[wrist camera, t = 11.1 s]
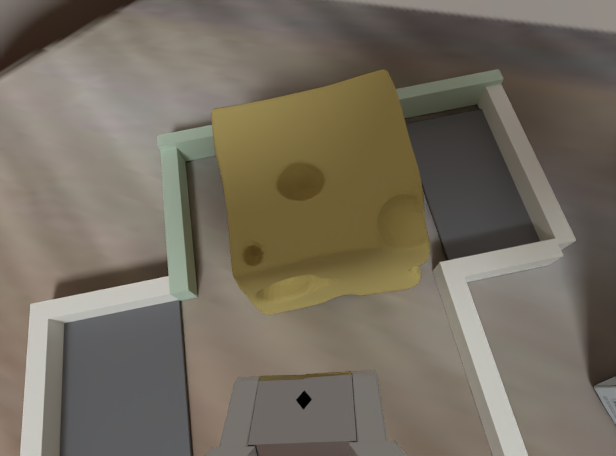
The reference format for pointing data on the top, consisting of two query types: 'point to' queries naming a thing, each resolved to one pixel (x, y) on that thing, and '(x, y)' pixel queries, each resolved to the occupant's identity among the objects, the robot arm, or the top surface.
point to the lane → (182, 285)
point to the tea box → (608, 396)
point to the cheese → (321, 194)
